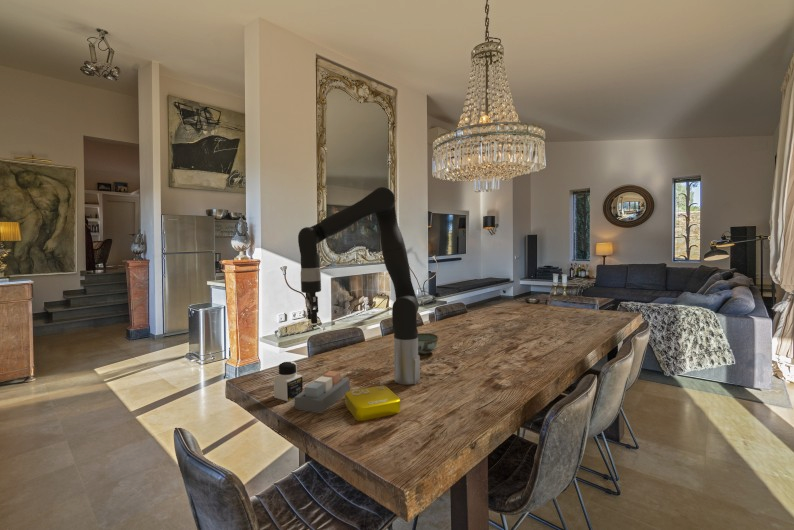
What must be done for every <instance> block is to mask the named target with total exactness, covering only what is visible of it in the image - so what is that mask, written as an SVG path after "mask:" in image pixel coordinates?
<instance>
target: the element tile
mask: <svg viewBox="0 0 794 530" xmlns="http://www.w3.org/2000/svg"><path fill="white" fill-rule="evenodd" d="M344 396H345V398H344V399H345V401H344V402H345V407H346V408H347V410H348V411H349V413H351V415H352V416H353V417H354V419H355V420H357V421H363V422H364V421H369V420H372V419H378V418H381V417H387V416H391V415H396V413H397V414H399V413H400V412H401V399H400V397H398V396H397V395H396V394H395V393H394V392H393V391H392V390H391V389H390V388H389V387H387V386H386V385H383V384H382V385H376V386H371V387H365V388H360V389H353V390H349V391H348V392H346V393H345V394H344Z"/></svg>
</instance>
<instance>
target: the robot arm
mask: <svg viewBox="0 0 794 530" xmlns="http://www.w3.org/2000/svg"><path fill="white" fill-rule="evenodd" d="M395 196H396V195H395V193H394V192H393V190H392V189H391V188H389V187H387V186H379V187H377V188H375V189H374V190H373V191H371V192H370V193H369V194H368V195H366V196H365V197H363V198H362V199H360V200H359V201H357V202H355V203H354V204H352V205H350V206H348V207H346V208H344V209H341V210H339V211H337V212H335V213H333V214H331V215H329V216H327V217H325V218H323V219H322V220H321V221H320V222H318V223H317V224H314V225H312V226H310V227H309V226H308V227H307V226H305V227H303V228H301V229H300V230H299V232H298V235H297V241H298V249H299V253H300V289H301V290H300V292H301V293H304V294H305V307H306V310H307V311H306V312H307V320H309V321H310V323H311V324H313V325H314V324H318V313H319V297H318V296H317V294H316V293H320V292H321V291H322V279H321V278H322V277H321V276H322V275H321V269H320V265H321V264H320V255H319V252H318V244H319V243H321V242H322V241H324V240H326V239H327V238H329V237H332V236H335V235H336V234H338V233H341V232H342V231H344V230H346V229H348V228H349V227H352V226H353V225H354V224H355V223H358V222H359V221H361V220H362V219H364V218H366V217H369V216H370V215H372V214H375V217H376V220H377V222H378V226H379V239H380V248H381V253H382V257H383V262H384V266H385V268H386V270H387V273H388V275H389V277H390V279H391V281H392V285H393V290H394V294H395V301H394V302H393V303H392V311H391V313H392V314H391V317H392V318H391V319H392V331H393V346H394V349H393V350H394V351H393V357H394V361H393V362H394V364H393V365H394V382H395V383H397V384H399V385H406V386H407V385H417V383H418V382H420V381H419V380H421V378H420V377H421V375H420V374H421V373H420V372H421V369H420V368H421V367H420V366H421V365H420V360H421V358H420V357H421V356H420V354H419V353H418V334H419V331H418V325H417V322H418V321H417V314H418V311H419V301H418V298H417V296H416V292H415V289H414V286H413V282H412V277H411V270H410V265H409V264H410V263H409V258H408V257H409V256H408V254H407V253H408V252H407V249H406V244H405V241H404V237H403V235H402V232H401V230H400V227H399V223H398V220H397V212H396V197H395Z"/></svg>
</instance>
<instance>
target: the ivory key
mask: <svg viewBox="0 0 794 530" xmlns="http://www.w3.org/2000/svg"><path fill="white" fill-rule="evenodd" d="M314 383H321V384H323V388H324V391H328V390H330V389H331V388H332V378H331V377H323V375H321V376H319V377H318V378H317V379H315V380H314Z"/></svg>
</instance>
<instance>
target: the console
mask: <svg viewBox="0 0 794 530" xmlns="http://www.w3.org/2000/svg"><path fill="white" fill-rule="evenodd" d="M350 386H351V384H350V379H349V378H342V377H340V382H339V383H338V384H336V385H332V388H331V389H330V390H328V391H324V394H323V395H321V396H320V397H319V398H311V397H305V389H304V390H303V392H301V393H300V394H298V395H297V396H295V397H294V398H295V399H294V410H299V411H305V412H310V413H311V412H313V413H319V414H323V413H324V412H325V411H326V410H328V409H329V408H330V407H331V406H332V405H333V404H335V403H336V402H337V401H338V400H339V399H340V398H342V397H343V396H345V394H346V392H348V391H351V388H350Z"/></svg>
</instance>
